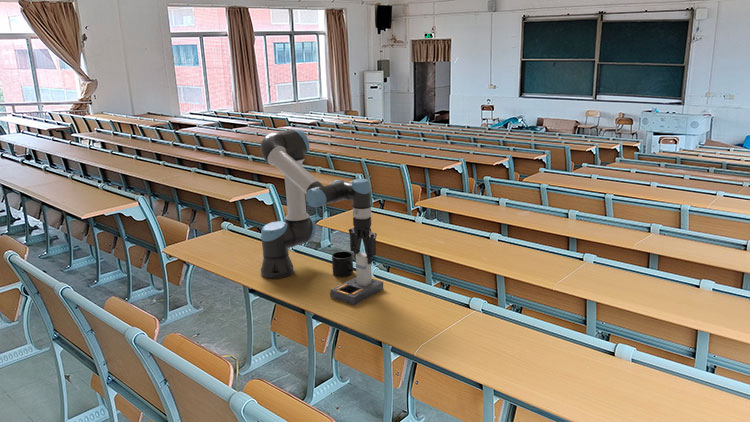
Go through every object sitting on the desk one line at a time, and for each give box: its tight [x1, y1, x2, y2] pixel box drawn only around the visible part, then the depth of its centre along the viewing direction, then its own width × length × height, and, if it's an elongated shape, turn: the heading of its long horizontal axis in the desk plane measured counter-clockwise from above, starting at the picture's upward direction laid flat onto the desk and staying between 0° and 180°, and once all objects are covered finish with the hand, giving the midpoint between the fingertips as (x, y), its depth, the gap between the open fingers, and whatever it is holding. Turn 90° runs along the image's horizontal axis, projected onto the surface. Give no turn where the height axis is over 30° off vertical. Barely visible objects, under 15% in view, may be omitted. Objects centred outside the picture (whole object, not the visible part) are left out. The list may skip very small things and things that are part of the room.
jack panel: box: [330, 276, 384, 306], centre depth 233 cm, size 13×19×4 cm
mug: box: [331, 251, 354, 278], centre depth 252 cm, size 9×12×9 cm
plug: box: [355, 252, 372, 286], centre depth 234 cm, size 5×5×14 cm
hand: (363, 269), depth 234 cm, fingers closed on plug, 5 cm apart
